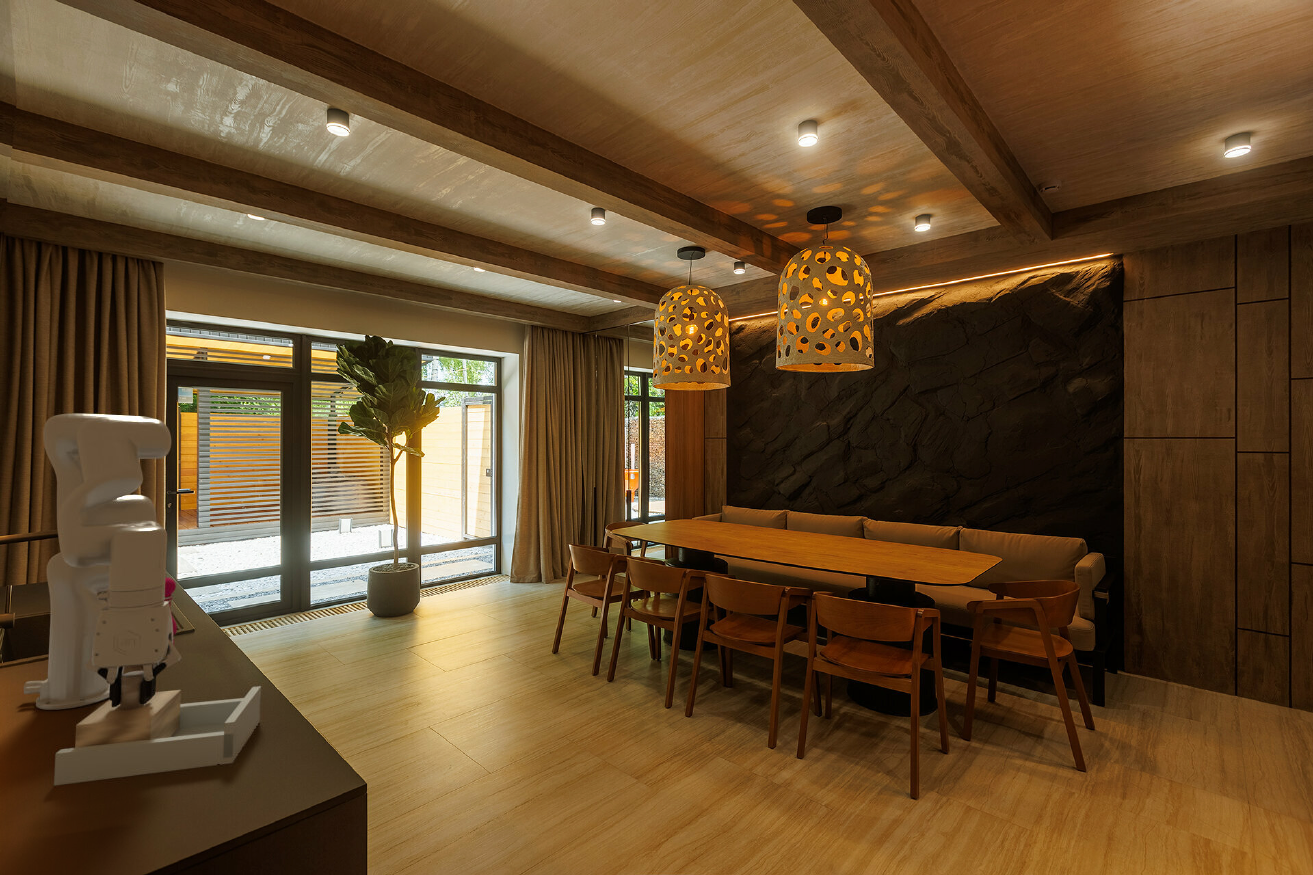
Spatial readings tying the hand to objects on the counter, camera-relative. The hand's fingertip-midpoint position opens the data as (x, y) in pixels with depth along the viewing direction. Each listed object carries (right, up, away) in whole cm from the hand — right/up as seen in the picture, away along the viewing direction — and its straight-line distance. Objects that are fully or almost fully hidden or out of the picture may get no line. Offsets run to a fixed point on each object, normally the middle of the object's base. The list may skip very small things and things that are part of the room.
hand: (132, 701), depth 105 cm
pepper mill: (-39, -9, +52) cm, 66 cm away
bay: (+5, -9, +2) cm, 11 cm away
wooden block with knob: (0, -8, 0) cm, 8 cm away
